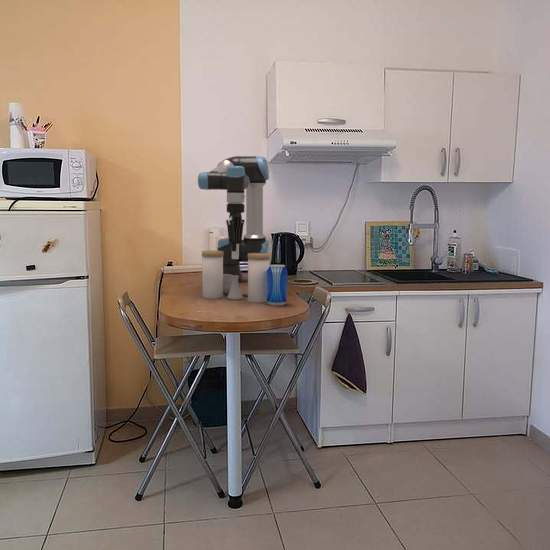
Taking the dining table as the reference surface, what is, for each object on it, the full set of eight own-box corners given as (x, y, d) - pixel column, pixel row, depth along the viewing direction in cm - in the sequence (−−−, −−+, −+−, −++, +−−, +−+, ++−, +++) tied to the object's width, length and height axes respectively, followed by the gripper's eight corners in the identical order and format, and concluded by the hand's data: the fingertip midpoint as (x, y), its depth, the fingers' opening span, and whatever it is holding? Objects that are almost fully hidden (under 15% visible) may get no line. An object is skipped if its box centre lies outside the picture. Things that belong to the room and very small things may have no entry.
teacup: (228, 294, 245) (228, 277, 244) (205, 293, 247) (205, 276, 246) (237, 290, 258) (237, 273, 257) (215, 289, 260) (215, 272, 259)
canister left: (208, 294, 245) (208, 250, 242) (227, 295, 241) (227, 251, 239) (197, 297, 236) (197, 251, 233) (217, 299, 232) (217, 252, 230)
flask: (229, 300, 230) (229, 277, 228) (224, 297, 236) (224, 275, 235) (245, 299, 233) (246, 276, 231) (240, 297, 239) (240, 274, 238)
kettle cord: (216, 294, 245) (216, 292, 245) (217, 293, 246) (217, 291, 246) (267, 298, 236) (267, 296, 235) (268, 298, 237) (268, 296, 236)
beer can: (266, 302, 227) (267, 264, 225) (286, 302, 227) (287, 264, 225) (265, 305, 219) (266, 266, 217) (286, 306, 218) (287, 266, 216)
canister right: (252, 298, 236) (253, 252, 234) (272, 299, 233) (273, 253, 230) (243, 301, 228) (243, 254, 225) (264, 303, 224) (264, 255, 222)
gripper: (236, 203, 222) (236, 260, 225) (250, 203, 234) (249, 258, 237) (220, 203, 225) (220, 259, 227) (234, 203, 237) (234, 257, 239)
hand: (235, 258), depth 232 cm, fingers closed
